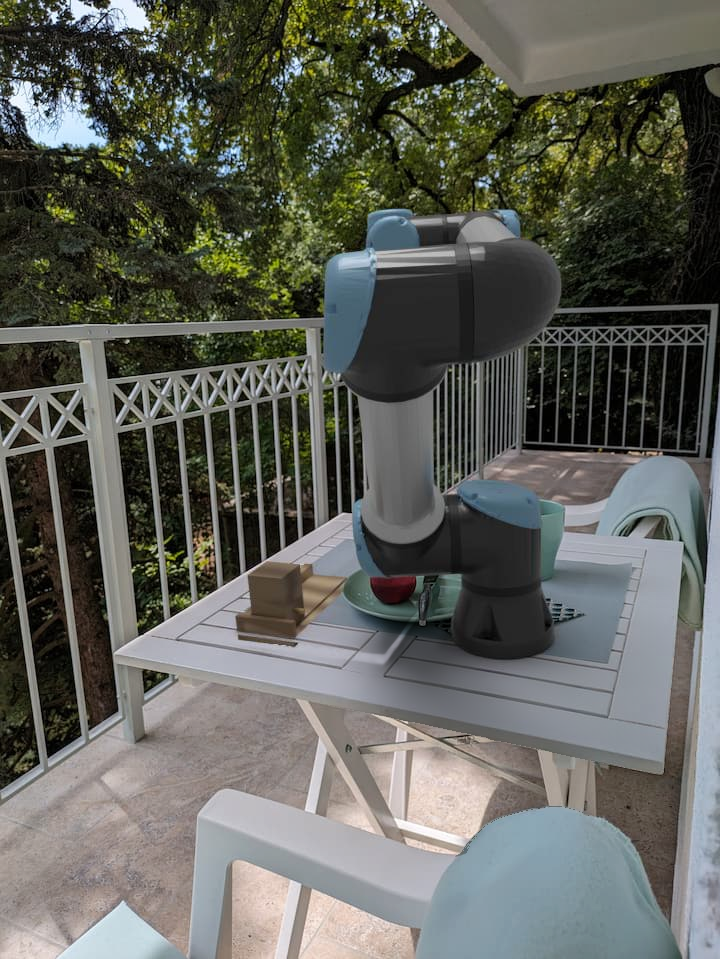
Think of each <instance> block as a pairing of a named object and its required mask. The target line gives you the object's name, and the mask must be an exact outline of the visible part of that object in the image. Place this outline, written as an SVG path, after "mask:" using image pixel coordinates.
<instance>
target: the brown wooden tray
mask: <svg viewBox="0 0 720 959" xmlns="http://www.w3.org/2000/svg"><path fill="white" fill-rule="evenodd" d="M313 566H314V565H313V563H304V564H303V565H300V570H301V581H302V591H303V601H304V609H305V617H304V618H303V619H302V620H301V621H300V622H299V623H298V624H297V625H296V622H295V620H288V619H280V618H272V617H263V616H255V615H252V611H251V606H250V607H249V608H248V609H246V610H245V611H244V612H243V613H236V615H235V616H234V617H235V625H236V631H237V632H241V633H248V634H256V635H263V636H272V637H277V638H278V637H279V638H286V639H292V640H293V639H295V638H296V637H297V636H298V635H299V634H300V633H301V632H303V631H304V630H305V628H307V627H308V625H309V624H311V623H312V622H313V621H314V620H315V618H317V617H318V616H319V615H320V614H321V613H322V612H323V611H324V610H325V609H326V608H327V607H328V606H330V604H331V603H332V602H333V601H334V600H335V599H336V598H337V597H338V596H339V595H340V594H342V592H343V591H344V590H343V586H344V583H345V581H346V580H347V579H348V578H349V577H347V576H346V577H345V576H344V577H343V576H336V575H334V576H333V575H325V574H314V569H313V568H314V567H313ZM237 639H238V640H240V641H245V642H246V641H247V642H252V643H253V642H255V643H261V644H266V643H267V645H273V644H278V645H277V646H281V645H286V646H285V647H288V646H291V647H290V648H296V647H297V646H298V645H299V644H298V643H299V642H297V641H296V642H295V641H290V640H289V641H287V640H282V639H276V638H275V639H274V638H268V637H267V638H266V637H258V636H251V635H243V634H237ZM297 644H298V645H297ZM296 645H297V646H296ZM295 646H296V647H295Z"/></svg>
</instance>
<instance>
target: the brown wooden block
mask: <svg viewBox="0 0 720 959" xmlns="http://www.w3.org/2000/svg"><path fill="white" fill-rule="evenodd" d="M300 567H301V564H299V563H291V562H279V561H270V560H269V561H265V562H264V563H262V564H261V565H259V566H258V567H257V568H255V569H254V570H253V571H251V572H249V573H248V574H247V582H248V593H249V600H250V607H251V611H252V615H255V616H263V617H272V618H280V619H288V620H295V622H296V625H297V624H298V623H299V622H300V621H301V620H302V619H303V618H304V617H305V609H304V601H303V591H302V581H301V570H300Z"/></svg>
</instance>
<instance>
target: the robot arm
mask: <svg viewBox="0 0 720 959" xmlns="http://www.w3.org/2000/svg"><path fill="white" fill-rule="evenodd" d="M324 274H325V275H324V276H325V277H324V300H323V301H324V303H323V304H324V306H323V307H324V308H323V312H324V313H323V367H324V370H325V371H327V372H328V373H335V374H336V375H339V374H340V376H341V379H342V382H343V384H344V386H345V387H346V388H347V389H348V390H349V391H350V392H351V393H352V394H354V395H355V396H356V397H357V402H358V403H357V404H358V410H359V418H360V426H361V427H360V428H361V436H362V444H363V451H364V452H363V453H364V456H365V457H364V459H365V466H366V467H365V468H366V474H367V483H368V488H367V490H366V492H365V493H364V495H363V498H360V499H358V500H357V501H356V502H355V503H354V504H353V507H352V514H351V515H352V516H351V517H352V518H351V521H352V535H353V541H354V542H353V543H354V545H355V554H356V557H357V561H358V563H359V566H360V568H361V570H362V572H363V573H364V574H365V575H367V576H368V577H371V578H385V579H394V578H407V577H408V578H409V577H423V576H424V577H425V576H429V577H430V576H444V575H446V576H448V575H460V576H461V577H460V579H461V582H460V583H461V586H460V591H459V594H458V597H457V599H456V603H455V607H454V611H453V614H452V617H451V621H450V622H451V623H450V626H451V638H452V640H453V642H454V644H456V645H457V646H458V647H459V648H461V649H463V650H464V651H466V652H468V653H470V654H474V655H477V656H480V657H486V658H491V659H518V658H519V659H521V658H526V657H531V656H533V655H537V654H539V653H541V652H543V651H545V650H547V648H549V647H551V645H552V643H553V642H554V641H555V622H554V618H553V616H552V613H551V610H550V607H549V605H548V602H547V599H546V596H545V593H544V590H543V587H542V527H543V520H542V510H541V503H540V502H541V501H540V499H539V497H538V496H537V494H536V493H535V492H534V490H531V489H530V488H528V487H526V486H524V485H520V484H519V483H514V482H509V481H503V480H495V479H472V480H467V481H463V482H461V483H460V484H458V486H457V487H458V488H456V493H453V494H442V492H441V490H440V489H439V487H438V486H437V485H436V484H434V483H435V482H434V480H435V479H434V477H435V475H434V474H435V472H434V471H435V470H434V465H435V464H434V461H435V460H434V459H435V458H434V391H435V390H436V389H437V388H438V387H439V386H440V385H441V383H442V382H443V380H444V378H445V376H446V373H447V369H448V366H451V365H452V366H453V365H464V364H465V365H466V364H478V363H486V362H489V361H494V360H498V359H501V358H504V357H507V356H509V355H511V354H513V353H515V352H516V351H518V350H520V349H521V348H523V347H525V346H526V345H528V344H530V343H531V342H532V340H533V341H534V339H535V338H536V337H537V336H538V335H539V334H541V333H542V332H543V331H544V329H545V328H546V327H547V325H548V324H549V323H550V321H551V320H552V319H553V317H554V315H555V313H556V311H557V309H558V307H559V304H560V300H561V296H562V279H561V272H560V270H559V267H558V264H557V263H556V261H555V260H554V258H553V256H552V255H551V254H550V253H549V252H548V251H547V250H546V249H545V248H544V247H542V245H540V244H538V243H537V242H535V241H533V240H531V239H528V238H525V237H521V222H520V220H519V215H518V213H517V212H516V211H515V210H512V209H495V208H494V209H492V208H491V209H489V210H482V211H480V210H479V211H473V212H462V213H461V212H460V213H450V214H446V213H444V214H429V215H417V216H414V213H413V212H412V210H410V209H405V208H392V209H391V208H390V209H381V210H376V211H372V212H371V213H370V214H368V216H367V230H366V238H365V248H364V249H363V250H360V251H352V252H344V253H342V252H341V253H337V254H336V255H334V256H333V257H331V258H330V259H329V261H328V262H327V264H326V266H325V273H324Z"/></svg>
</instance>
